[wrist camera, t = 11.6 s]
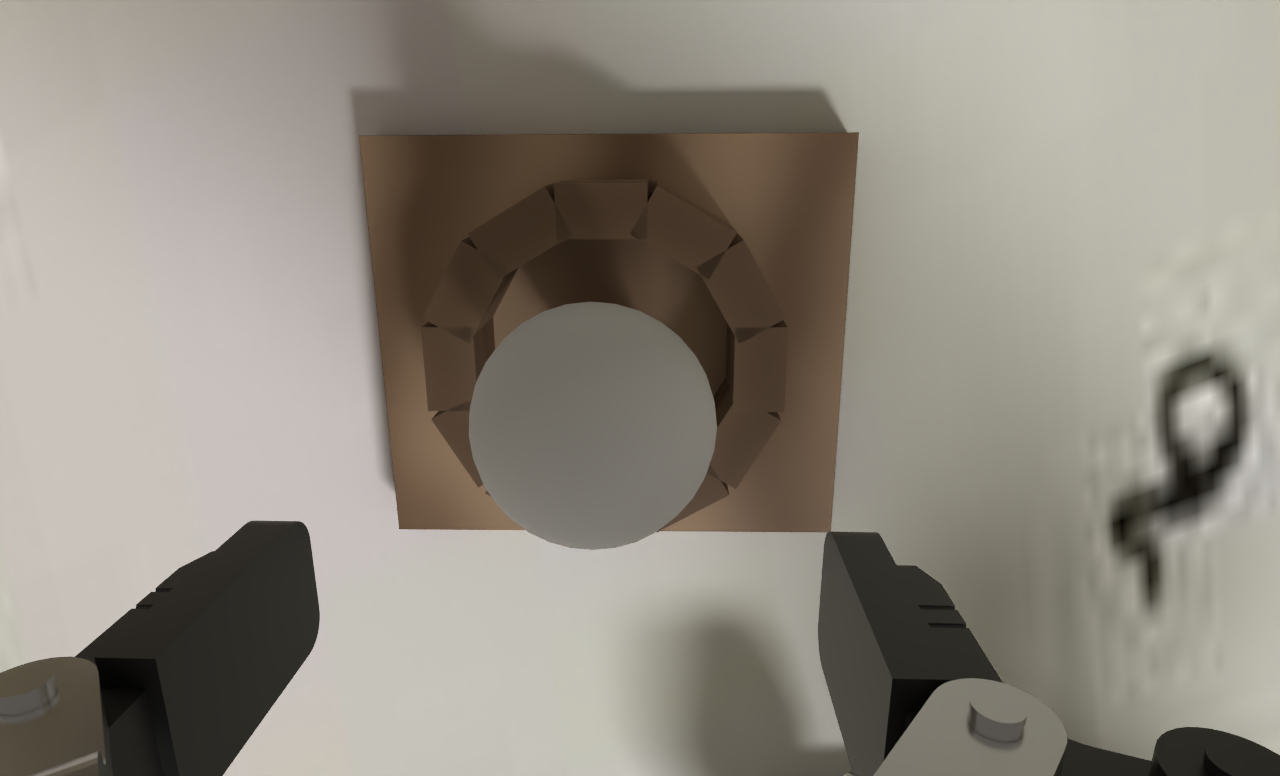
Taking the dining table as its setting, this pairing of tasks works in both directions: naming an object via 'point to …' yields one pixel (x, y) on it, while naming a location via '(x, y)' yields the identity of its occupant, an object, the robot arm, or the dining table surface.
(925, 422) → the dining table surface
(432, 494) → the lamp socket
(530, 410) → the lightbulb
